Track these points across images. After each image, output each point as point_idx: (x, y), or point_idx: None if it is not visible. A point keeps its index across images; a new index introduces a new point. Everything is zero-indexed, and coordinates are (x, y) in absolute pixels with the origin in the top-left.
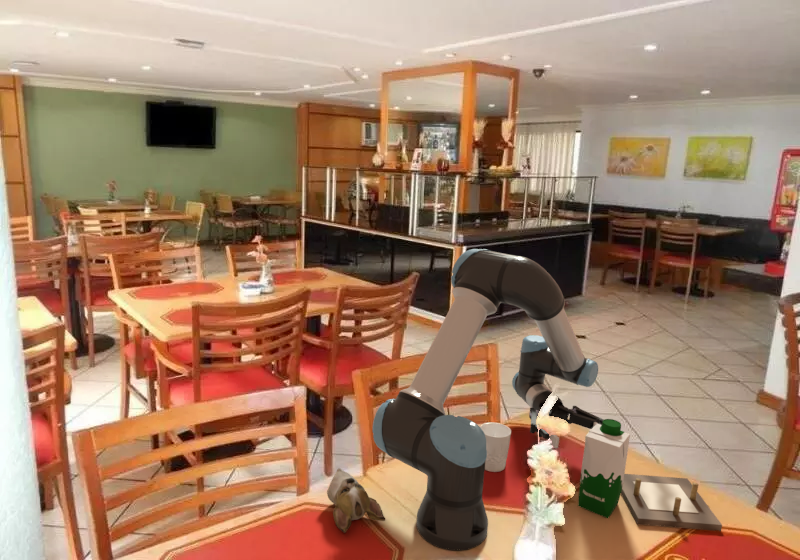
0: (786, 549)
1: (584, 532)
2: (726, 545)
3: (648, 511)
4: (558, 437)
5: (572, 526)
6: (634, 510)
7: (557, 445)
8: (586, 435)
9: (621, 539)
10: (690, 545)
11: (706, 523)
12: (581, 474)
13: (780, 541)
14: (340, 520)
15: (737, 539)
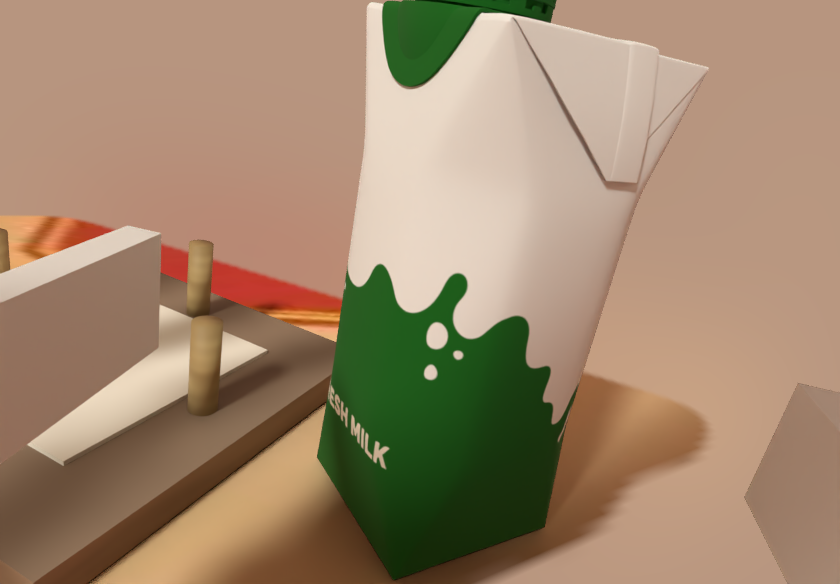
0: (61, 220)
1: (599, 430)
2: (186, 266)
3: (280, 350)
4: (805, 391)
5: (636, 462)
6: (330, 372)
7: (767, 472)
8: (700, 65)
9: None
10: (285, 297)
11: None
12: (577, 385)
13: (27, 224)
14: None
15: None
